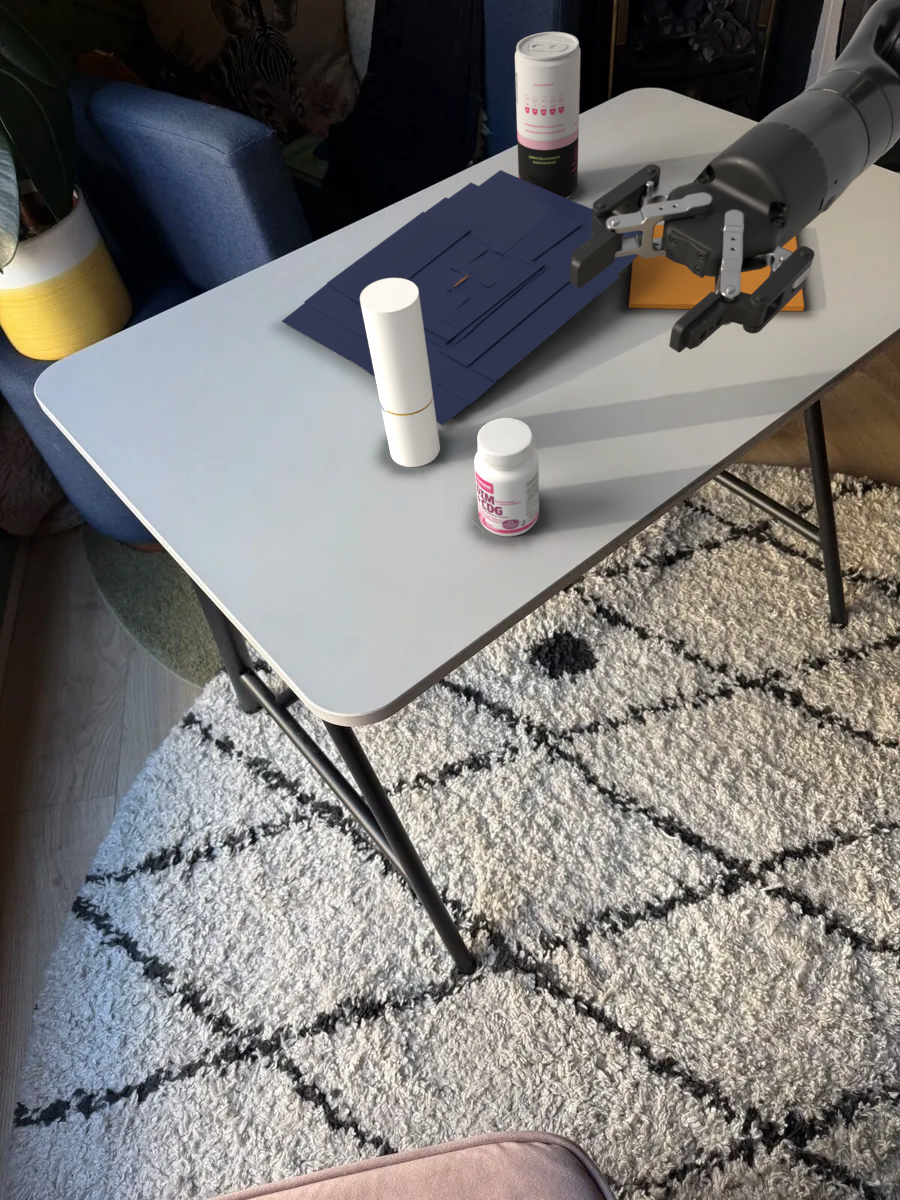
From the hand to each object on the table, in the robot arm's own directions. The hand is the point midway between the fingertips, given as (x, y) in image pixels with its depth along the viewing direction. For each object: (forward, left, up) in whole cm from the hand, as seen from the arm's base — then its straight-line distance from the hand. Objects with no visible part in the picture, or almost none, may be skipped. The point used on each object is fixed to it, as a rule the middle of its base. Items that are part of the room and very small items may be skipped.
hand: (623, 307), depth 56 cm
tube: (+17, -4, -17) cm, 24 cm away
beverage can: (+10, -47, -17) cm, 51 cm away
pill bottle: (+8, +3, -17) cm, 19 cm away
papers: (+15, -26, -17) cm, 34 cm away
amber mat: (-8, -32, -17) cm, 37 cm away
